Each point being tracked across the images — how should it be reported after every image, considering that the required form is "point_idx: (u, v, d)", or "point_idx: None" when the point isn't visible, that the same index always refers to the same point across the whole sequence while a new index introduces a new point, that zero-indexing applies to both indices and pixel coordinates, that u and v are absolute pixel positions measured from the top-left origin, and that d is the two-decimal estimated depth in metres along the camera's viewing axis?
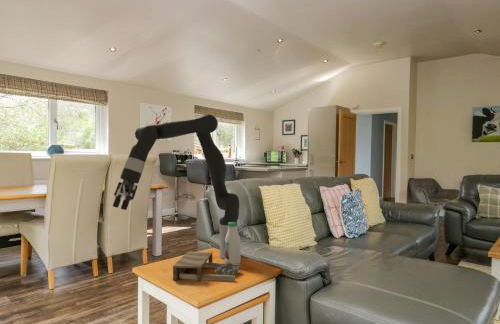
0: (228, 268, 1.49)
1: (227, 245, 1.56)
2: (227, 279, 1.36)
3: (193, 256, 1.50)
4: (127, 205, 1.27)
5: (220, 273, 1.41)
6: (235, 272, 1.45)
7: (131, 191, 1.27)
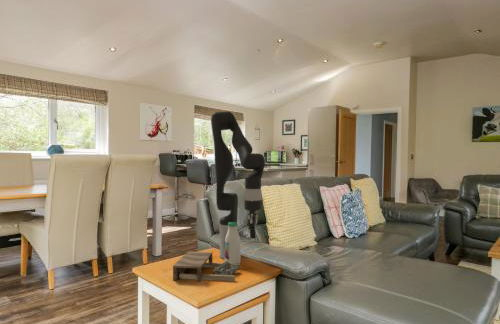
0: (226, 268, 1.50)
1: (227, 245, 1.56)
2: (227, 279, 1.36)
3: (193, 256, 1.50)
4: None
5: (218, 273, 1.42)
6: (233, 271, 1.46)
7: None
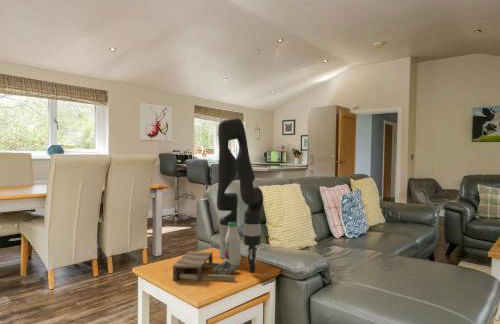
0: (226, 267, 1.50)
1: (227, 245, 1.56)
2: (227, 279, 1.36)
3: (193, 256, 1.50)
4: None
5: (217, 272, 1.43)
6: (232, 271, 1.46)
7: None
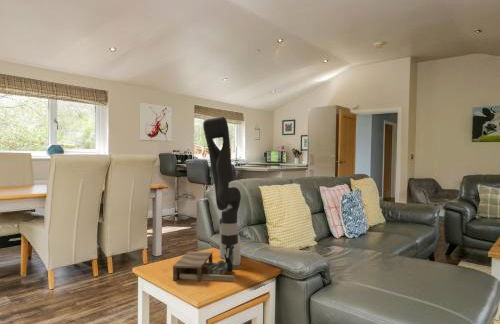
0: (221, 266, 1.51)
1: None
2: (227, 279, 1.36)
3: (193, 256, 1.50)
4: None
5: (211, 271, 1.44)
6: None
7: None
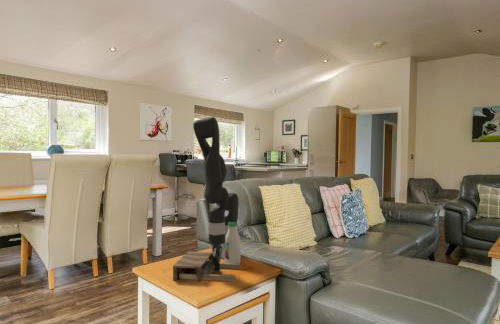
0: (210, 266, 1.52)
1: (227, 245, 1.56)
2: (227, 279, 1.36)
3: (193, 256, 1.50)
4: None
5: None
6: None
7: None
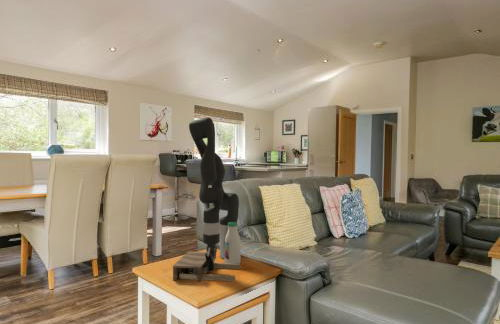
0: (204, 266, 1.52)
1: (227, 245, 1.56)
2: (227, 279, 1.36)
3: (193, 256, 1.50)
4: None
5: None
6: (208, 270, 1.47)
7: None
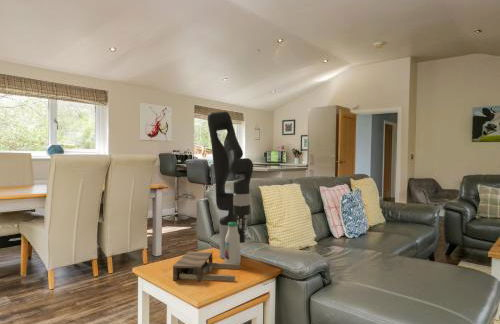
0: (203, 266, 1.53)
1: (227, 245, 1.56)
2: (227, 279, 1.36)
3: (193, 256, 1.50)
4: None
5: (191, 270, 1.45)
6: (207, 270, 1.48)
7: None
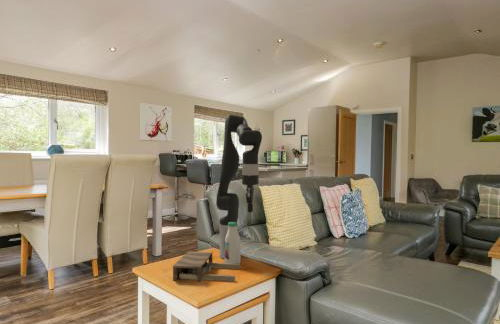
0: (202, 266, 1.53)
1: (227, 245, 1.56)
2: (227, 279, 1.36)
3: (193, 256, 1.50)
4: None
5: (191, 270, 1.45)
6: (207, 270, 1.48)
7: None
